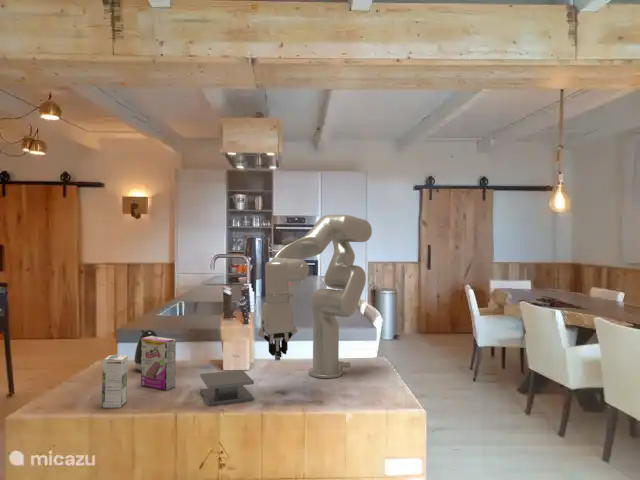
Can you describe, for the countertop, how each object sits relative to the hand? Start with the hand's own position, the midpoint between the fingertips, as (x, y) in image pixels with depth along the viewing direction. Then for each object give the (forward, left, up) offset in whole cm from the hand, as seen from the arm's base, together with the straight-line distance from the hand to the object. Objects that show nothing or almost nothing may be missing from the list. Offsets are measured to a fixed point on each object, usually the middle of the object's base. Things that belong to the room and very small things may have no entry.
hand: (278, 353), depth 171 cm
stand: (+17, -2, -13) cm, 21 cm away
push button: (0, 0, -2) cm, 2 cm away
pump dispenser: (+37, -43, -13) cm, 58 cm away
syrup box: (+50, -6, -13) cm, 52 cm away
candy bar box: (+36, -20, -13) cm, 43 cm away
